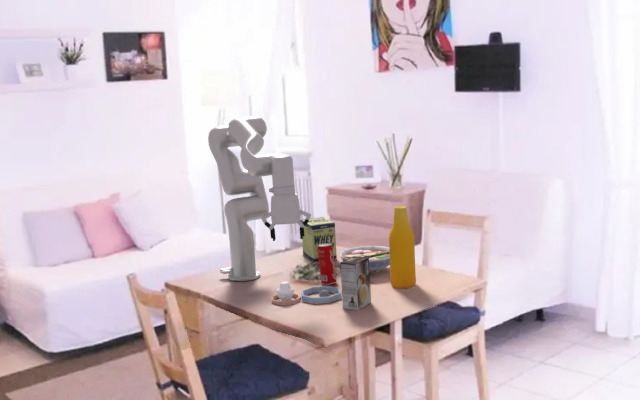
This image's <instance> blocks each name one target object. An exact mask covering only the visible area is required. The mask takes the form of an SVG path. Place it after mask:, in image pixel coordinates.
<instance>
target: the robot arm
mask: <svg viewBox="0 0 640 400" xmlns="http://www.w3.org/2000/svg"><path fill="white" fill-rule="evenodd" d="M267 131H268V129H267V123H266V121H265V120H264V119H263V118H262V117H261V116H257V115H253V116H243V117H241V116H240V117H236V118H233V119H232V120H230V122H229V123H228V124H226V125H219V126H215V127H213V128H212V129H211V130H209V133H208V135H207V136H208V138H207V141H208V147H209V150H210V151H211V152H210V153H211V154H212V156H213V158H214V160H215V162H216V166H217V170H218V173H219V177H220V182H221V186H222V190H223V192H224V193H225V194H226V196H232V197H233V196H240V195H245V194H249V195H250V196H249V195H248V196H241V197H236V198H233V199H232V198H231V199H229V200H228V201H227V202H226V203H225V205H224V214H225V218H226V225H227V229H228V239H229V253H230V254H229V255H230V264H231V265H230V266H228V267H226V268H225V267H222V268H221V267H220V270H219V271H220V272H219V273H220V274H223V275H227V274H228V278H227V279H228V280H230V281H233V282H246V281H247V282H249V281H253V280H254V281H255V280H256V279H259V278H260V277H261V272H260V271H258V270H257V267H256V265H257V264H256V252H255V251H256V249H255V240H254V239H255V237H254V232H253V229H252V227H250V226H249V224H248V222H251V221H256V220H261V221H262V223H263V224H264V225H265V227H266V228H268V229H269V231H270V233H269V234H270V239H272V241H273V242H275V241H276V240H277V239H276V229H275V226H277V225H278V226H279V225H291V224H292V225H293V224H298V226H299V235H300V236H299V239H300V240H302V239H303V236H305V234H304V226H305V225H306V224H307V223H308V222H309V219H311V217H312V213H309V212H308V211H305V210H303V209H301V206H300V199H299V195H298V193H296V184H295V172H294V161H293V156H291V155H290V154H283V153H280V152H275V153H274V152H273V153H267V154H264V153H263V154H259V152H261V150H262V149H263V147H264V143H265V140H264V137H265V135H266V134H267ZM233 147H239V148H241V149H240V153H239V154H240V155H239V157H240V159H239V158H238V156H237V155H236V154H235V153H234V152H233V151H232V150H231V149H229V148H233ZM257 154H258V155H257ZM239 160H240V161H239ZM240 162H241V164H242V167H243V168H244V169H242V168H241V166H240ZM267 176H268V177H269V176H271V179H272V187H271V188H268V191H269V192H268V193H271V194H272V195H271V198H270V204H269V201H268V197H267V196H268V195H267V192H266V189H265V185H264V181H263V177H267ZM269 205H270V206H269ZM301 216H304V217H305V219H306V220H305V221H304V222H302V221H301V220H302V217H301ZM268 218H271V219H270V220H271V221H270V222H271V223H270V222H269V221H268V220H267V219H268Z"/></svg>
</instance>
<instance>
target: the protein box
mask: <svg viewBox="0 0 640 400" xmlns="http://www.w3.org/2000/svg"><path fill="white" fill-rule="evenodd" d="M305 220H306V218H305V219H304V218H303V219H301V221H302V222H304V221H305ZM304 234H305V236H303V239H301V243H302V254H303V256H305V257H306V258H307V259H309V260H311V261H312V262H313V263H316V262H319V258H318V245H319V244H323V243H331V244H332V247H333V254H334V260H337V259H338V258H337V238H336V236H337V235H336V223H335V221H332V220H330V219H328V218H327V217H324V216H321V217H313V218H311V217H310V219H309V222H308V223H307V224H306V225H305V226H304Z"/></svg>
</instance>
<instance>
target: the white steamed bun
mask: <svg viewBox="0 0 640 400" xmlns="http://www.w3.org/2000/svg"><path fill="white" fill-rule="evenodd" d="M275 291H276V295H277V294H278V296H279V298H278V299H280V300H279V301H291V300H292V298H293V297H292V296H293V293H295V288H294V287H292V286H291V283H290V282H289V281H282V282H280V284H279V287H278V288H276V290H275Z"/></svg>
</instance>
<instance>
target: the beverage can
mask: <svg viewBox="0 0 640 400" xmlns="http://www.w3.org/2000/svg"><path fill="white" fill-rule="evenodd" d="M318 258H319V261H318V265H319V273H320V280H321V281H320V283H321V284H322V285H323V286H330V285H334V284H336V283H337V273H336V266H335V265H336V264H335V259H334V254H333V247H332V244H331V243H323V244H319V245H318Z"/></svg>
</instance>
